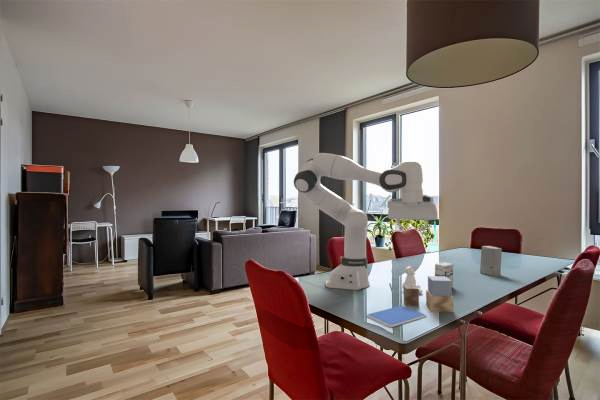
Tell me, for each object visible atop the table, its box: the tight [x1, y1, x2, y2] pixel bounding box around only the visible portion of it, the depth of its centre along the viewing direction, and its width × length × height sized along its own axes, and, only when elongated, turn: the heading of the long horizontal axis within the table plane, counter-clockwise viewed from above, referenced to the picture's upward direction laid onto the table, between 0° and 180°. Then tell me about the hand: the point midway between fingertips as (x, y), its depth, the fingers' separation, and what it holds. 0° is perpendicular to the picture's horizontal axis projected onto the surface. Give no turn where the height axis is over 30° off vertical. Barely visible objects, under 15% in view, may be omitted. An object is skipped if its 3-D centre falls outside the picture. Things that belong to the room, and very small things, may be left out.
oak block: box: [425, 289, 455, 313], centre depth 122 cm, size 8×8×6 cm
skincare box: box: [479, 245, 503, 277], centre depth 176 cm, size 8×7×16 cm
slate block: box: [427, 275, 453, 296], centre depth 122 cm, size 7×7×6 cm
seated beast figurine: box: [402, 265, 423, 295], centre depth 145 cm, size 10×9×12 cm
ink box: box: [434, 261, 454, 288], centre depth 150 cm, size 8×5×12 cm, turn 123°
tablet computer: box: [366, 305, 428, 328], centre depth 114 cm, size 19×13×1 cm, turn 121°
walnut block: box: [403, 285, 420, 307], centre depth 127 cm, size 5×5×7 cm
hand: (412, 230), depth 133 cm, fingers open, 8 cm apart
